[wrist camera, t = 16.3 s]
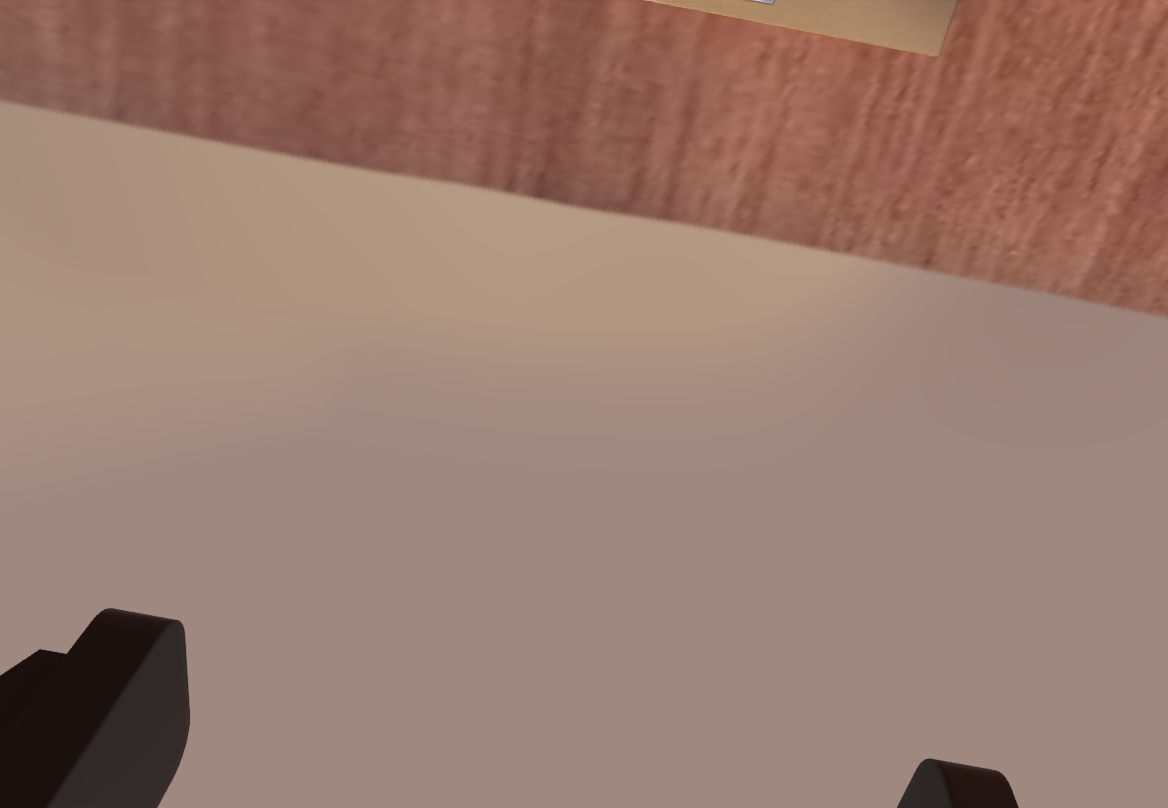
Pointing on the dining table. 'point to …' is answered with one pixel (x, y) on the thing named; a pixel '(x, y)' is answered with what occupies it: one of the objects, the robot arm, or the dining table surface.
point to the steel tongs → (763, 1)
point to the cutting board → (847, 19)
